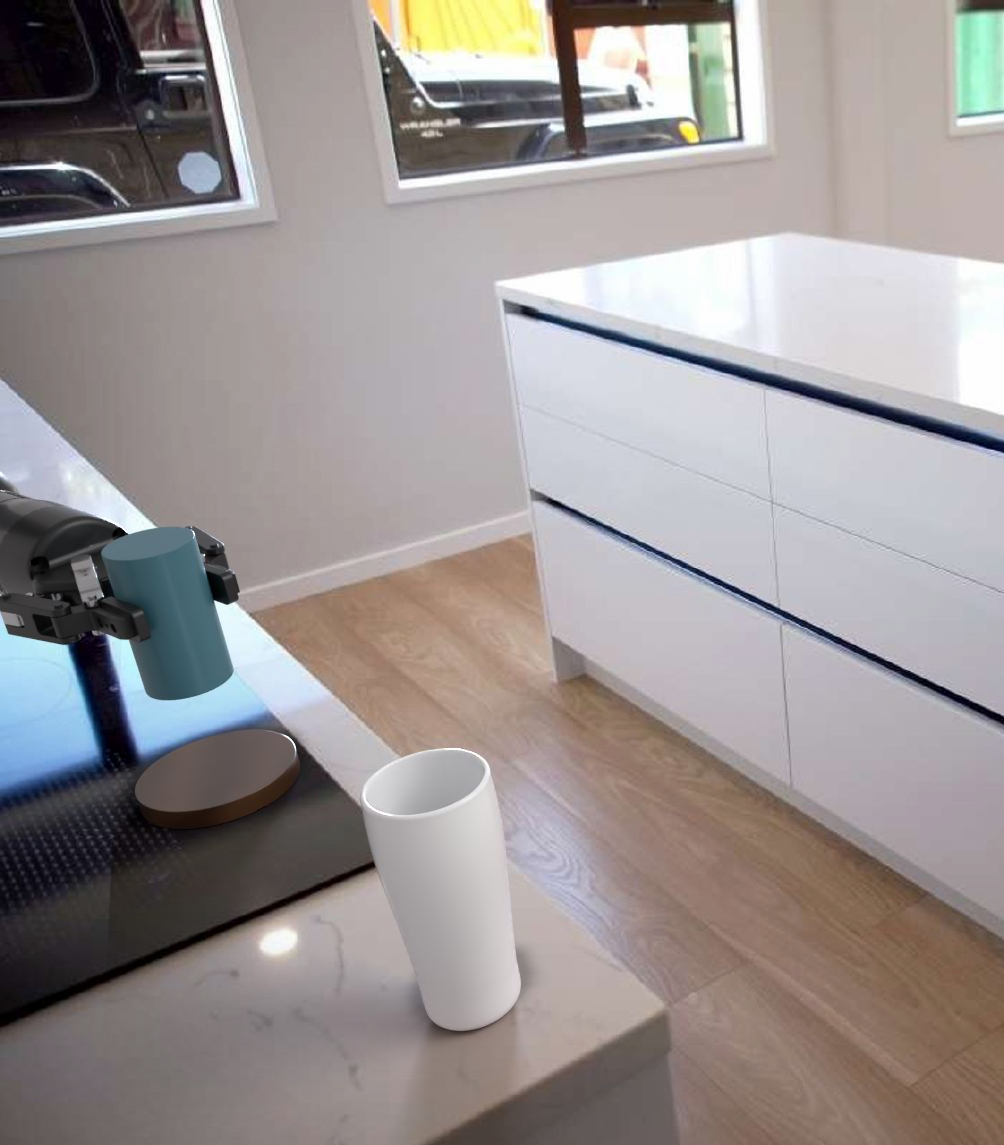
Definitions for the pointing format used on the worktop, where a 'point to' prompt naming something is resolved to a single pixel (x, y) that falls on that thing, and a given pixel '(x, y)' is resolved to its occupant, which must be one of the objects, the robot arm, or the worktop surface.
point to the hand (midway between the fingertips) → (187, 606)
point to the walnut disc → (217, 779)
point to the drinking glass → (446, 881)
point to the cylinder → (170, 611)
